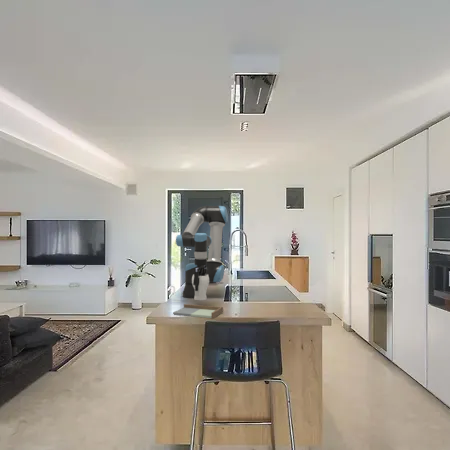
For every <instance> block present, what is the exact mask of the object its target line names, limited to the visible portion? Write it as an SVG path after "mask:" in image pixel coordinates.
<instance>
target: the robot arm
mask: <svg viewBox="0 0 450 450" xmlns="http://www.w3.org/2000/svg"><path fill="white" fill-rule="evenodd" d="M228 221H229V215H228V210H227V207H226V206H224V205H204V206H201V207H198V208H197V209H196V210H194V211H193V212H192V214H191V215H190V220H189V222H188V224H187V225H186V227H185V229H184V231H183V232H182V234H177V236H176V237H175V244H176V246H177V247H182V248H186V247H187V248H194V252H193V254H194V262H192V263H191V262H190V263H187V264H186V265H185V270H184V273H185V274H184V275H185V276H184V277H185V278H184V279H185V280H184V282H185V283H184V288H183V291H182V297H183V298H188V299H194V296H199V276H205V274H208V276H209V283H210V282H211V283H221V282H222V280H223V278H224V275H225V265H223V262H222V260H221V256H222V255H221V254H222V242H223V228H224V227H225V226H226V223H228ZM203 223H208V225H209V226H210V231H209V235H208V234H207V233H205V232H198V231H199V227H200V226H201V225H202V224H203ZM193 274H194V282H193V284H192V276H193ZM193 285H195V289H194V287H193Z"/></svg>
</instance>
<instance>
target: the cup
mask: <svg viewBox="0 0 450 450" xmlns="http://www.w3.org/2000/svg"><path fill="white" fill-rule="evenodd" d="M193 282H194V274H193V276H192V284H193ZM209 285H210V282H209V276H208V274H205V276H199V296H194V298H193V299H194V301H206V300H207V299H208V298H207V289H208V287H209ZM193 287H194V289H195V285H193Z"/></svg>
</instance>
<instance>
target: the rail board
mask: <svg viewBox="0 0 450 450" xmlns="http://www.w3.org/2000/svg"><path fill="white" fill-rule="evenodd" d="M222 312H223V313H224V307H223V306H214V305H213V306H211V305H202V304H201V305H198V304H187V303H184V304H183V307H182V308H180V309H178V310H176V311H173V313H172V315H173V314H174V316H181V315H184V316H183V317H194V318H195V317H196V318H207V319H215V318H217V317H218V316H220V315H221V314H223V313H222ZM219 314H220V315H219Z"/></svg>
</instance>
